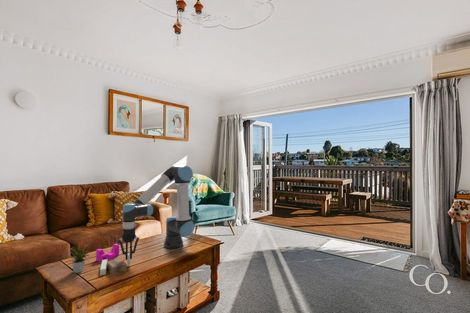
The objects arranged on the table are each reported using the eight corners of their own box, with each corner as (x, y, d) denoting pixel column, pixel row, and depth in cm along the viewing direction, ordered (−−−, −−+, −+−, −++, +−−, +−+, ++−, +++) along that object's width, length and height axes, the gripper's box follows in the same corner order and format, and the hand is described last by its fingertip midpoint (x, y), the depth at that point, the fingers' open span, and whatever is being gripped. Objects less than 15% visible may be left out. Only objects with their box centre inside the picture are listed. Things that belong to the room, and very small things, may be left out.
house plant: (62, 279, 145) (63, 250, 145) (61, 270, 156) (62, 244, 157) (91, 272, 154) (91, 245, 154) (88, 265, 165) (88, 239, 165)
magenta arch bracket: (101, 262, 169) (101, 251, 170) (95, 260, 173) (96, 249, 173) (121, 255, 183) (121, 245, 183) (115, 253, 186) (115, 243, 186)
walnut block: (119, 266, 164) (120, 258, 164) (126, 272, 155) (126, 264, 155) (106, 269, 159) (106, 261, 159) (112, 276, 150) (112, 267, 150)
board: (107, 264, 166) (107, 259, 166) (105, 274, 152) (105, 268, 152) (102, 265, 165) (102, 259, 165) (100, 275, 150) (100, 269, 151)
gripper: (139, 225, 170) (139, 260, 170) (118, 227, 166) (118, 263, 165) (139, 228, 163) (139, 265, 163) (117, 230, 159) (117, 268, 158)
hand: (128, 264), depth 164 cm, fingers closed
